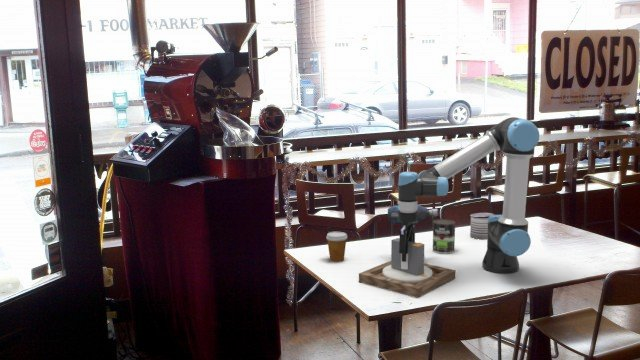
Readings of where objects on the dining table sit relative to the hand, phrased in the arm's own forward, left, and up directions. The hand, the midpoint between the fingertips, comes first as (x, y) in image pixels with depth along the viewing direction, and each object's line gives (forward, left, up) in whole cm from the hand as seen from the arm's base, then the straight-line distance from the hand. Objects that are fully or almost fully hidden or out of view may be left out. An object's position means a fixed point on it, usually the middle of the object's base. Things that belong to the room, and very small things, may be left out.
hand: (407, 266), depth 255 cm
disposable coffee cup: (+40, -3, -6) cm, 40 cm away
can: (+8, -78, -6) cm, 79 cm away
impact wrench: (+14, -25, -6) cm, 29 cm away
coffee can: (+10, -45, -6) cm, 46 cm away
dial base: (0, 0, -6) cm, 6 cm away
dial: (0, 0, -4) cm, 4 cm away
